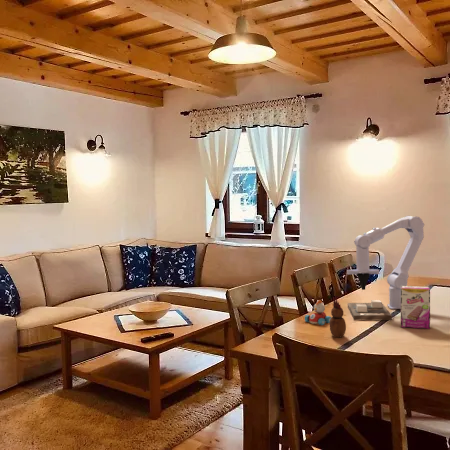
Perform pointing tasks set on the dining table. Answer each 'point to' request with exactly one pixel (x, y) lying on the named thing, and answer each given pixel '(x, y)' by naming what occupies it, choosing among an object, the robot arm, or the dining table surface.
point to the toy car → (318, 315)
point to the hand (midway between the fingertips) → (363, 289)
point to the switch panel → (369, 312)
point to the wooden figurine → (337, 320)
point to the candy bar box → (415, 307)
